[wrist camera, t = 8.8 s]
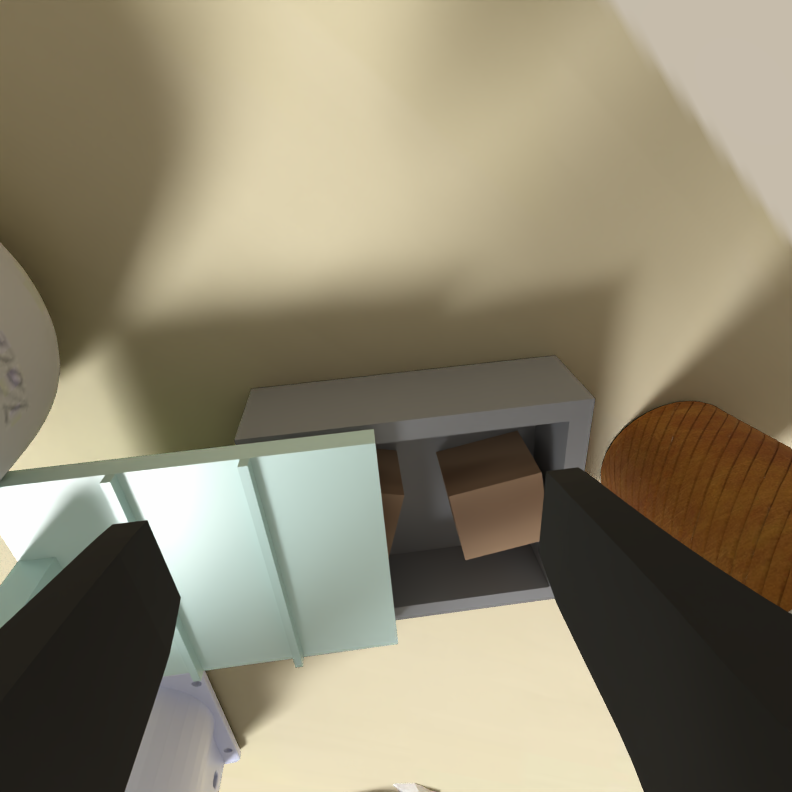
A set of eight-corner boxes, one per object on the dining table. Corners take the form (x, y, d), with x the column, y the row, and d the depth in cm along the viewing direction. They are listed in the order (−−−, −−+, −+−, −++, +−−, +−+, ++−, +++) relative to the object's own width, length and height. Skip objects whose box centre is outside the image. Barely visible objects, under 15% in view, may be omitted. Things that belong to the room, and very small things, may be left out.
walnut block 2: (527, 492, 22) (550, 538, 20) (451, 512, 22) (465, 560, 20) (517, 430, 20) (541, 472, 18) (436, 452, 21) (448, 496, 18)
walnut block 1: (381, 514, 22) (387, 563, 19) (302, 508, 21) (297, 558, 19) (396, 450, 20) (404, 495, 18) (311, 442, 20) (307, 487, 17)
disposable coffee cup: (523, 488, 23) (678, 797, 12) (682, 325, 19) (1076, 559, 9) (654, 558, 26) (862, 848, 16) (808, 429, 23) (1203, 688, 12)
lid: (373, 429, 16) (385, 538, 12) (396, 626, 21) (410, 753, 17) (-12, 473, 15) (-144, 606, 11) (105, 666, 20) (45, 808, 16)
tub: (555, 355, 20) (595, 398, 17) (537, 537, 24) (566, 596, 21) (251, 388, 19) (234, 440, 16) (296, 569, 24) (289, 634, 21)
